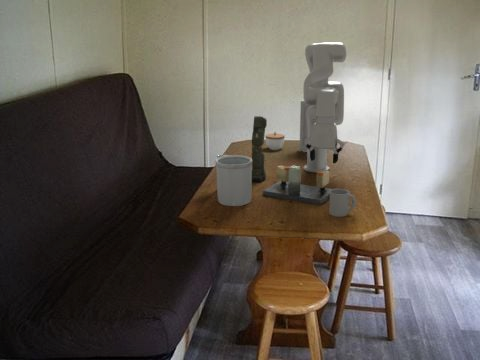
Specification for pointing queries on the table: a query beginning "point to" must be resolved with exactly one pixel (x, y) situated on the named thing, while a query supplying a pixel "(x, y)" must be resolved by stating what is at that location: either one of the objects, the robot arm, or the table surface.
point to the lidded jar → (275, 141)
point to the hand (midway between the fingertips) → (323, 161)
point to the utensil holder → (234, 180)
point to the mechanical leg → (258, 149)
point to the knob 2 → (322, 179)
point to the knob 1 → (283, 173)
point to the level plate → (304, 195)
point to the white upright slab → (303, 125)
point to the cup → (340, 202)
